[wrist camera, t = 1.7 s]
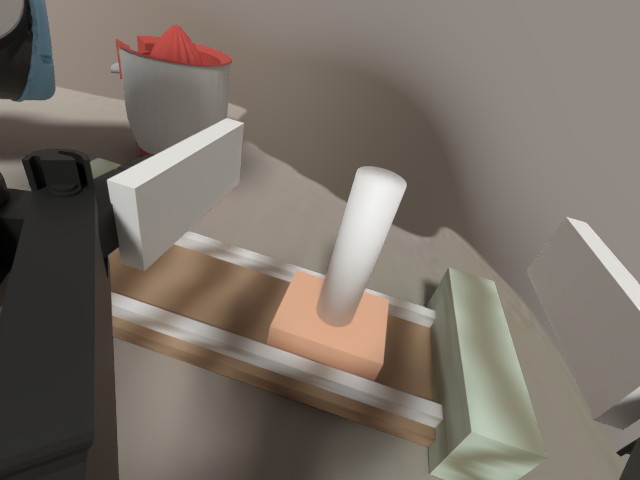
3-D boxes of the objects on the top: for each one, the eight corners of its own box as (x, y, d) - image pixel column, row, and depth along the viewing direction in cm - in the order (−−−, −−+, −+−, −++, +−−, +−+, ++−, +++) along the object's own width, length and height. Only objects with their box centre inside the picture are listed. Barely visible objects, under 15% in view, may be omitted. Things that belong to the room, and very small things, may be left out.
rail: (-53, 301, 29) (-93, 236, 25) (104, 207, 44) (94, 156, 40) (499, 499, 26) (555, 460, 22) (468, 325, 40) (498, 283, 36)
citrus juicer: (146, 130, 65) (136, 6, 54) (236, 151, 66) (245, 34, 55) (97, 161, 52) (69, 8, 41) (209, 186, 53) (213, 44, 42)
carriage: (266, 344, 30) (298, 179, 21) (292, 286, 37) (325, 141, 27) (374, 381, 30) (457, 227, 20) (381, 315, 36) (447, 176, 27)
